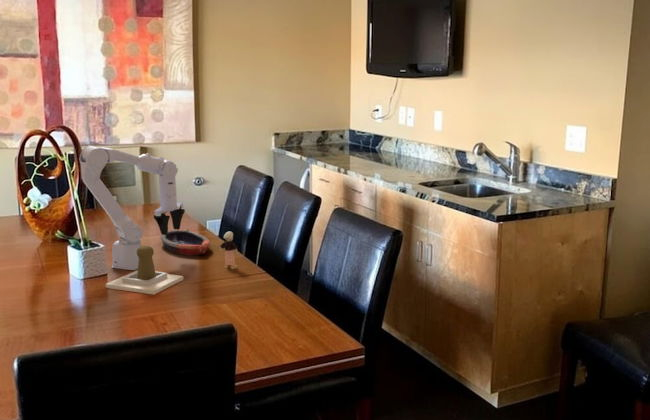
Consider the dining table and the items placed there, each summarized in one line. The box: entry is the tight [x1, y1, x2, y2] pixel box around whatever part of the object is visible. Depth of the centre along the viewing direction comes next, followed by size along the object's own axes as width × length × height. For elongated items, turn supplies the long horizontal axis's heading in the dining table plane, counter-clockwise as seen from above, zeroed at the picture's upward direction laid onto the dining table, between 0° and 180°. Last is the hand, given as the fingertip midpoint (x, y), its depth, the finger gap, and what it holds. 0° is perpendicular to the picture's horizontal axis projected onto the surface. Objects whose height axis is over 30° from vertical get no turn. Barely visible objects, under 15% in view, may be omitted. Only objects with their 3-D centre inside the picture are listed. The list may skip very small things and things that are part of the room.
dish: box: [160, 229, 211, 256], centre depth 258 cm, size 16×31×5 cm, turn 32°
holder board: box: [105, 269, 184, 295], centre depth 216 cm, size 18×16×3 cm
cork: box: [137, 245, 156, 280], centre depth 215 cm, size 6×6×11 cm
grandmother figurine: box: [219, 231, 239, 270], centre depth 233 cm, size 8×4×13 cm, turn 71°
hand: (170, 231), depth 241 cm, fingers open, 7 cm apart
